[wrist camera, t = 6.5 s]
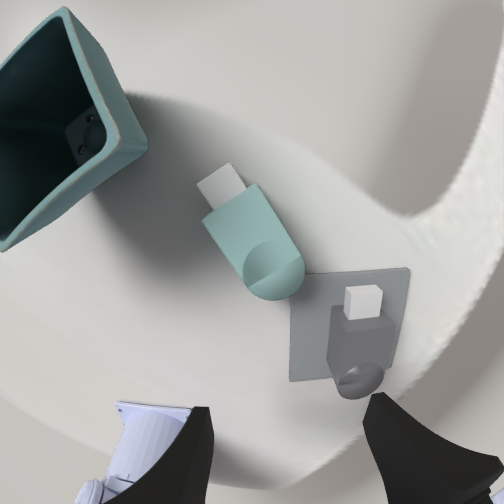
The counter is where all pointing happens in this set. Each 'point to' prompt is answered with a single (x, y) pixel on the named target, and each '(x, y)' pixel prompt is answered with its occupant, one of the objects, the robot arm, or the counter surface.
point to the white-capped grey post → (359, 342)
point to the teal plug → (251, 235)
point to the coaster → (319, 311)
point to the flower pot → (59, 125)
